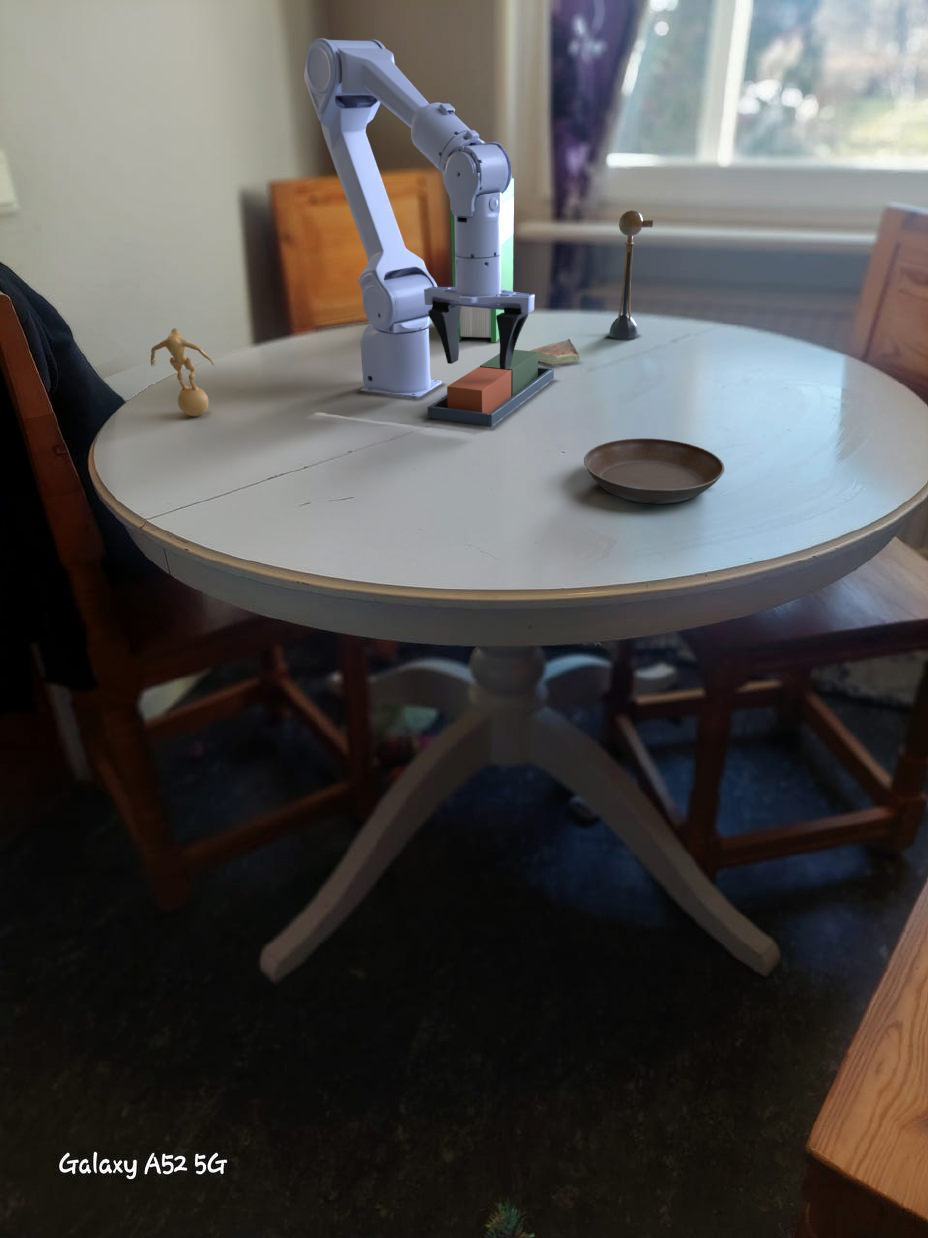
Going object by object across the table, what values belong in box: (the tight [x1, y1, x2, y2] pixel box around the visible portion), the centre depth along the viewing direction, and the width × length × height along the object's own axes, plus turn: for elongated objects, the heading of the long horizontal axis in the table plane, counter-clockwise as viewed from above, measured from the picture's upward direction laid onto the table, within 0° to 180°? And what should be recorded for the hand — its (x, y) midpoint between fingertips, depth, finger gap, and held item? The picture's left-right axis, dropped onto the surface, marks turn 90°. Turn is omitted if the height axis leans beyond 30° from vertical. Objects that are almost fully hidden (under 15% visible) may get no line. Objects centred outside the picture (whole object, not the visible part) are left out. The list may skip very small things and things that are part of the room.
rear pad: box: [478, 349, 539, 397], centre depth 125 cm, size 5×10×4 cm, turn 155°
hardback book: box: [450, 177, 515, 343], centre depth 152 cm, size 18×7×24 cm, turn 168°
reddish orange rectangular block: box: [446, 366, 511, 413], centre depth 117 cm, size 5×10×4 cm, turn 155°
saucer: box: [583, 437, 726, 505], centre depth 94 cm, size 15×15×3 cm
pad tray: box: [426, 366, 555, 428], centre depth 122 cm, size 9×23×2 cm, turn 155°
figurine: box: [150, 328, 215, 417], centre depth 115 cm, size 8×6×12 cm
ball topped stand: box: [608, 209, 654, 340], centre depth 147 cm, size 6×5×20 cm
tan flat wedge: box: [529, 338, 580, 365], centre depth 140 cm, size 11×8×2 cm
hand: (478, 364), depth 115 cm, fingers open, 7 cm apart
